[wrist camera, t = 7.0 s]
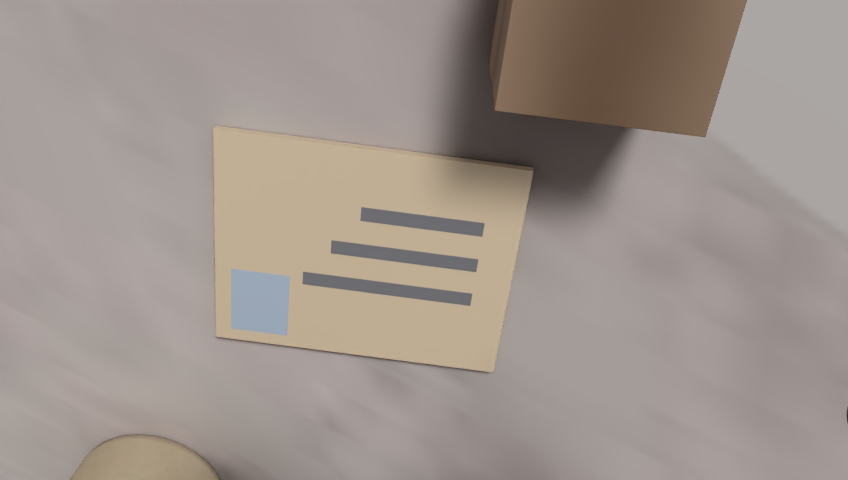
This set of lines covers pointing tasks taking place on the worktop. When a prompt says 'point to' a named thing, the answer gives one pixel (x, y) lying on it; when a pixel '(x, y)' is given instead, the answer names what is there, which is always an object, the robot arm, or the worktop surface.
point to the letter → (364, 247)
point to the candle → (143, 461)
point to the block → (614, 60)
